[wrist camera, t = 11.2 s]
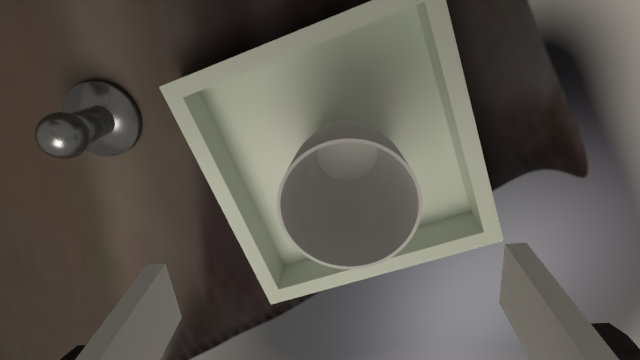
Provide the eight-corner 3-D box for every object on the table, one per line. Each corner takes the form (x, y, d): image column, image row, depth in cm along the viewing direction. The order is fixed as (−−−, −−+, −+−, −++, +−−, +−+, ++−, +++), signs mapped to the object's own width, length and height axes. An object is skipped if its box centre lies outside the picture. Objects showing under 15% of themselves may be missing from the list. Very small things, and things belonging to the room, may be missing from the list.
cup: (275, 149, 32) (247, 203, 22) (351, 78, 29) (354, 106, 20) (344, 216, 34) (343, 292, 24) (420, 155, 31) (452, 213, 22)
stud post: (54, 95, 32) (-18, 115, 25) (117, 68, 30) (58, 82, 24) (95, 162, 34) (37, 195, 27) (155, 139, 33) (110, 168, 26)
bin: (181, 78, 30) (159, 87, 27) (426, -22, 27) (439, -28, 23) (278, 275, 37) (271, 304, 33) (486, 216, 33) (503, 240, 30)
